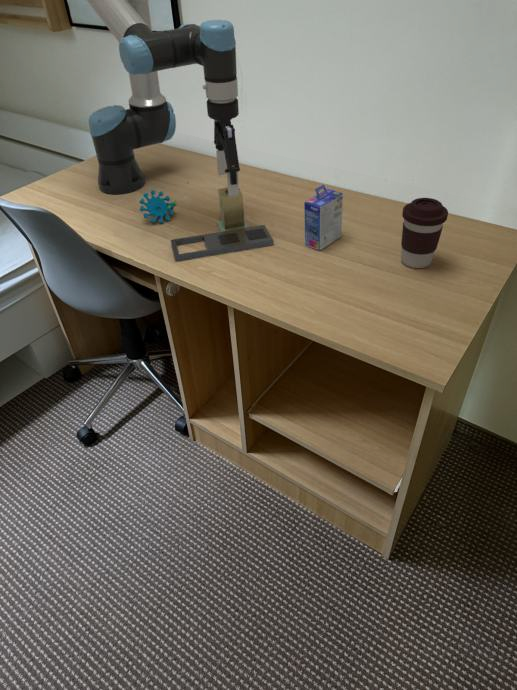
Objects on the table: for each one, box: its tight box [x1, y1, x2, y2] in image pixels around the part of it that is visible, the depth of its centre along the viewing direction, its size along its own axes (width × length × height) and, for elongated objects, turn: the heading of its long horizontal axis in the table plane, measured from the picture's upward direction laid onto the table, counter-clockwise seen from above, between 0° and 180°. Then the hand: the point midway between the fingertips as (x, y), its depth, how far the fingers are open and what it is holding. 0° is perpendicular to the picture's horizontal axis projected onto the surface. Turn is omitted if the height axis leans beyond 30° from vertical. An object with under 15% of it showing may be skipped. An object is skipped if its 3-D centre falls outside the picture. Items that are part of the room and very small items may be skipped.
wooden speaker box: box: [217, 187, 245, 231], centre depth 136 cm, size 6×6×10 cm
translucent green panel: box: [216, 218, 249, 232], centre depth 139 cm, size 8×8×1 cm
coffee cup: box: [400, 197, 449, 269], centre depth 117 cm, size 10×10×15 cm
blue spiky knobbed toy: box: [139, 189, 178, 225], centre depth 145 cm, size 11×6×10 cm
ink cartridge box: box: [304, 184, 344, 251], centre depth 126 cm, size 10×6×14 cm, turn 138°
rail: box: [170, 224, 274, 262], centre depth 131 cm, size 9×26×2 cm, turn 104°
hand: (228, 184), depth 132 cm, fingers open, 13 cm apart
